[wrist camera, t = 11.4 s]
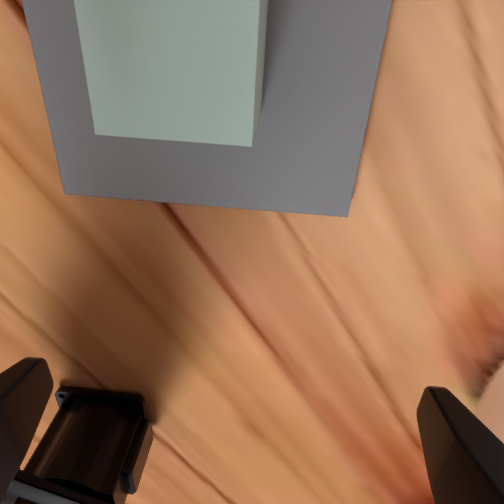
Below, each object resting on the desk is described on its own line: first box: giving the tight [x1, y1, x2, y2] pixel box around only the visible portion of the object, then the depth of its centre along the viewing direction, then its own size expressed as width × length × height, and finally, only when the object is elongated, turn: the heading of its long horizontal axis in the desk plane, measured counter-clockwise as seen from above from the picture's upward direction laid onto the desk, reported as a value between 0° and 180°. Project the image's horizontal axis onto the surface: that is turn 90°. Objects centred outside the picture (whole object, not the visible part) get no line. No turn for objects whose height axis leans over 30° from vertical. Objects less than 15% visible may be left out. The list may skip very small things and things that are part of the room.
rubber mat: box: [22, 0, 392, 217], centre depth 15 cm, size 14×14×1 cm
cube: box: [74, 0, 268, 147], centre depth 13 cm, size 5×5×5 cm
